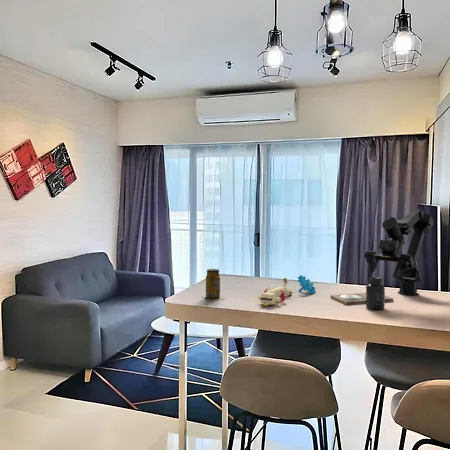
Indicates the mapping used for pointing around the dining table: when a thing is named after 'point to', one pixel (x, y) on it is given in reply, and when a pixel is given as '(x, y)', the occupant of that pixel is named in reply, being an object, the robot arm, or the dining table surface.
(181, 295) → the dining table surface
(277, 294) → the cat figure
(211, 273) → the condiment
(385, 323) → the dining table surface
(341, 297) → the walnut board
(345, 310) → the dining table surface
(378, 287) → the supplement bottle
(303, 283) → the blue lumpy piece
